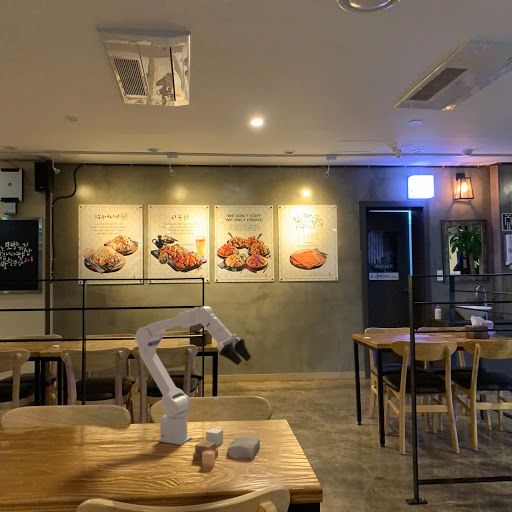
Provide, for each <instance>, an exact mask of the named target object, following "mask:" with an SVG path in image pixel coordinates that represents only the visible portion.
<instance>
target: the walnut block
mask: <svg viewBox="0 0 512 512" xmlns="http://www.w3.org/2000/svg"><path fill="white" fill-rule="evenodd" d="M208 450H211V451H215V450H217V446H216V442H211V441H206V439H205V440H204V439H203V440H201V441H200V442H198V443H196V444H195V445H194V452H195V453H199V454H202V452H204V451H208Z"/></svg>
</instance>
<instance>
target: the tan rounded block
mask: <svg viewBox="0 0 512 512" xmlns="http://www.w3.org/2000/svg"><path fill="white" fill-rule="evenodd" d="M201 466H202V468H204V469H213V468H215V466H216V458H215V452H214V451H211V450H208V451H204V452H202V461H201Z"/></svg>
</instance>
